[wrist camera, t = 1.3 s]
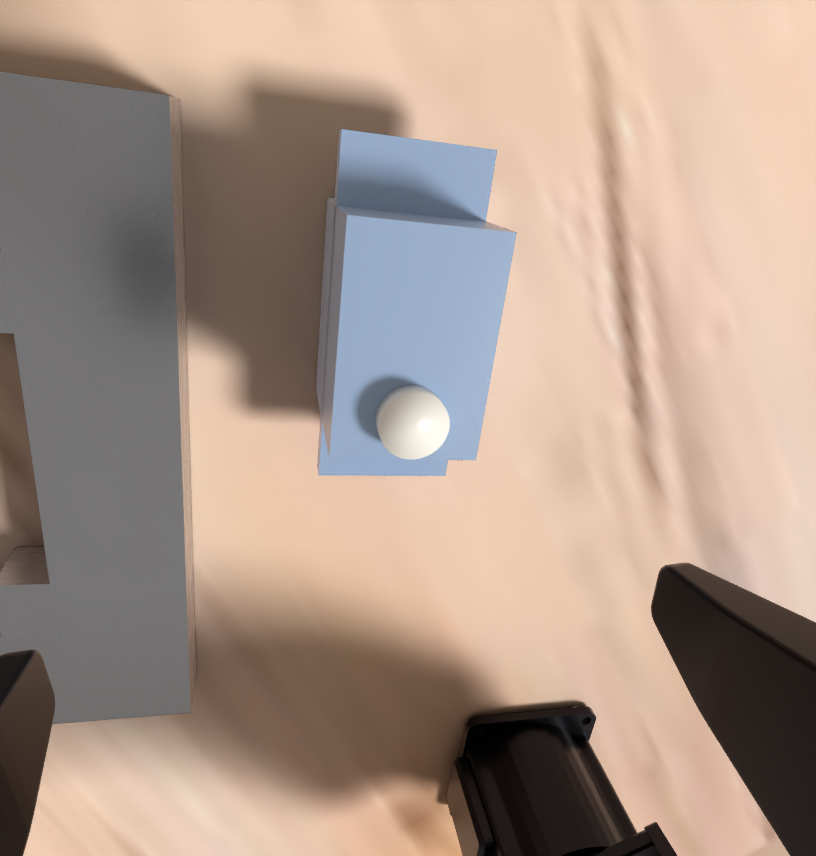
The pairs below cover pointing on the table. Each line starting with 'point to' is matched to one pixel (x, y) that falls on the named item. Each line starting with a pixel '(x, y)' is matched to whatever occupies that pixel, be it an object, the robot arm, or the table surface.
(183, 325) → the chassis plate
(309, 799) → the table surface
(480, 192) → the servo
